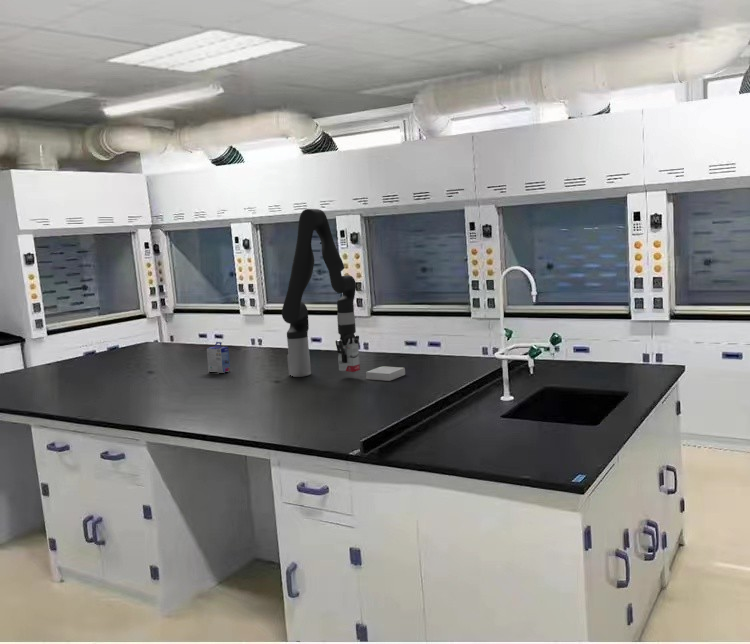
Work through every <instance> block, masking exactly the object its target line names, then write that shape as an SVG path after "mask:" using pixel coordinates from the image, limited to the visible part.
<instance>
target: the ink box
mask: <svg viewBox="0 0 750 644" xmlns="http://www.w3.org/2000/svg"><path fill="white" fill-rule="evenodd" d="M342 345H343V344H342ZM343 347H346V345H345V346H343ZM343 350H345V349H343ZM340 351H341V349H340ZM346 354H347V363H343V362H342V355H341V354H339V353H338V352H337V358H338V359H337V360H338V371H341V372H348V373H349V372H350V373H355V372H359V371H361V365H360V352H359V346H358V344H356V343H353V344H348V345H347V353H346Z"/></svg>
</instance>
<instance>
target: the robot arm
mask: <svg viewBox="0 0 750 644" xmlns="http://www.w3.org/2000/svg"><path fill="white" fill-rule="evenodd" d="M297 227H298V229H297V236H296V237H297V239H296V244H295V251H294V256H293V259H292V263H291V264H292V265H291V270H290V271H291V272H290V277H289V281H288V287H287V292H286V295H285V298H284V301H283V305H282V309H281V317H282V319H283V321H284V322H285V323H287V324H289V328H288V330H287V331H286V341H287V342H286V343H287V351H288V354H287V355H286V360H287V367H288V376H290V375H291V376H290V377H292V376H293V377H294V378H301V377H306V376H310V375H311V374H312V371H311V370H312V369H311V358H310V346H309V336H308V333H309V329H310V328H309V326H310V325H309V324H310V323H309V311H308V310H309V309H308V307H307V305H306V304H305V303H304V302H303V301H302V299H303V295H304V293H305V290H306V288H307V286H308V285H309V283H310V281H311V278H312V276H313V271H314V267H315V257H314V250H313V246H312V239H313V234H314V231H315V232H316V233H317V235H318V237H319V239H320V243H321V256H322V260H323V263H325V266H326V268H327V270H328V275H329V279H330V285H331V288H332V290H333V291H334V292H335V293H337V294H342V295H341V297H340V298H339V299H337V300H336V306H337V307H336V309H337V315H336V318H337V331H338V332H337V333H338V335H339V339H337V340H335V346H336V351H337V354H338V353H339V354H341V355H342V362H343V363H347V354H346V353H347V345H348V344H353V343H355V344H358V347H359V344H360V335H356V333H357V329H356V315H355V308H354V307H355V306H354V300H355V296H356V291H357V283H356V279H355V278H354V277H353V276H352V275H350V274H349V275H343V274H342V271H343V270H344V269H345V264H344V262H343V260H342V258H341V255H340V253H339V251H338V249H337V246H336V245H335V241H334V237H333V233H332V232H331V231H332V230H331V228H330V224H329V221H328V217H327V215H326V213H325V212H324V211H323V210H322V209H320V208H319V209H318V208H306V209H303V210H302V212H301V213H300V215H299V219H298V225H297ZM342 344H343V345H342ZM345 345H346V347H343V346H345ZM340 349H341V351H340ZM343 349H345V350H343Z"/></svg>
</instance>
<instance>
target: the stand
mask: <svg viewBox="0 0 750 644" xmlns="http://www.w3.org/2000/svg"><path fill="white" fill-rule="evenodd" d="M405 375H406V369H405V367H397V366H384V365H383V366H379V367H376V368H373V369H371V370H368V371H365V377H366V380H373V381H386V382H387V381H389V382H390V381H393V380H396V379H398V378H400V377H403V376H405Z"/></svg>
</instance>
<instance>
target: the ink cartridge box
mask: <svg viewBox="0 0 750 644" xmlns="http://www.w3.org/2000/svg"><path fill="white" fill-rule="evenodd" d="M222 343H223V342H222V341H216V342H215V345H214V346H210V347H207V348H206V356H207V357H206V358H207V368H208V370H207V371H208V372H209V371H210V372H226V371H231V363H230V361H231V360H230V350H229V346H222Z"/></svg>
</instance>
